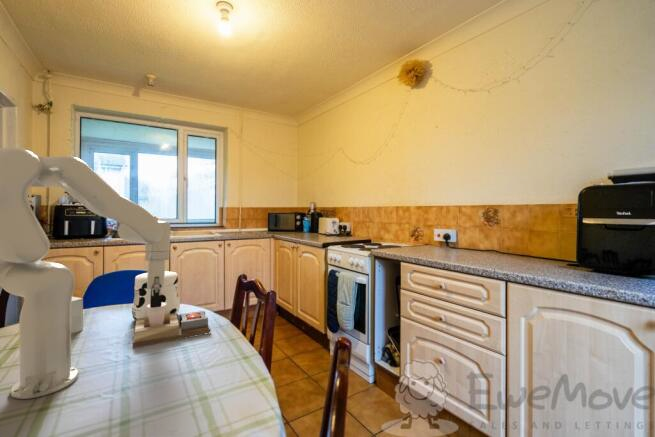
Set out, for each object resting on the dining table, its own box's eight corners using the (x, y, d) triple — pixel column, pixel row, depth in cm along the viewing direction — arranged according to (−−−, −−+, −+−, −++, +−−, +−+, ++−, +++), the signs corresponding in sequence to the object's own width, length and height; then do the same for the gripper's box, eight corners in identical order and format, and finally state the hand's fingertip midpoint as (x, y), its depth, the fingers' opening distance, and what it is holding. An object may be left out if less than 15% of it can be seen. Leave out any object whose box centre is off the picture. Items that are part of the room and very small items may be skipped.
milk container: (187, 311, 131) (187, 271, 130) (165, 326, 113) (165, 280, 113) (148, 310, 131) (149, 270, 130) (121, 325, 114) (121, 279, 113)
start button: (201, 325, 111) (201, 316, 111) (186, 327, 108) (187, 319, 108) (199, 320, 115) (199, 312, 115) (185, 323, 113) (185, 314, 113)
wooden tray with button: (210, 333, 108) (210, 320, 108) (132, 347, 96) (132, 332, 96) (204, 320, 121) (204, 308, 120) (135, 331, 108) (135, 318, 108)
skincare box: (58, 332, 106) (58, 299, 106) (72, 327, 110) (72, 296, 110) (70, 334, 104) (70, 301, 104) (83, 329, 109) (83, 298, 108)
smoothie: (170, 328, 109) (170, 290, 108) (158, 335, 102) (159, 296, 102) (154, 327, 109) (154, 289, 109) (141, 334, 103) (142, 295, 102)
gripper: (145, 252, 110) (143, 298, 110) (144, 259, 95) (142, 311, 95) (168, 252, 114) (166, 296, 114) (170, 258, 99) (168, 308, 99)
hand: (155, 303), depth 105 cm, fingers open, 9 cm apart
